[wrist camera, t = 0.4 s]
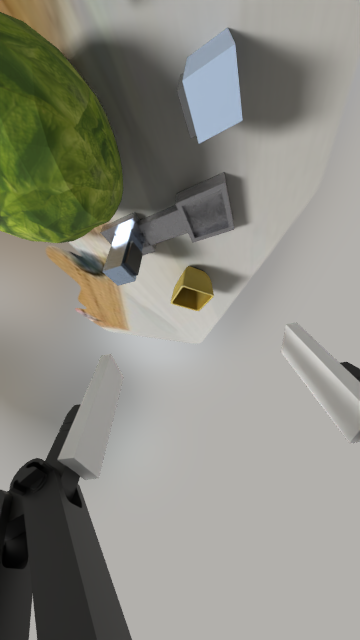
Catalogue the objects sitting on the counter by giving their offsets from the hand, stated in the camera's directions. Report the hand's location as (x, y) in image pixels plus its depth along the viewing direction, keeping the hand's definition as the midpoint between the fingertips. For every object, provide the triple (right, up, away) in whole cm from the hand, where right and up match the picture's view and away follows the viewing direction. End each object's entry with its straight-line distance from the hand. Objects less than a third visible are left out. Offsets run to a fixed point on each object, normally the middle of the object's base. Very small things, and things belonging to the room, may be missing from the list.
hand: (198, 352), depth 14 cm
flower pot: (+2, +16, +38) cm, 41 cm away
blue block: (+2, +31, +8) cm, 32 cm away
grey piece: (-5, +23, +24) cm, 34 cm away
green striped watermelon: (-20, +30, +13) cm, 39 cm away
